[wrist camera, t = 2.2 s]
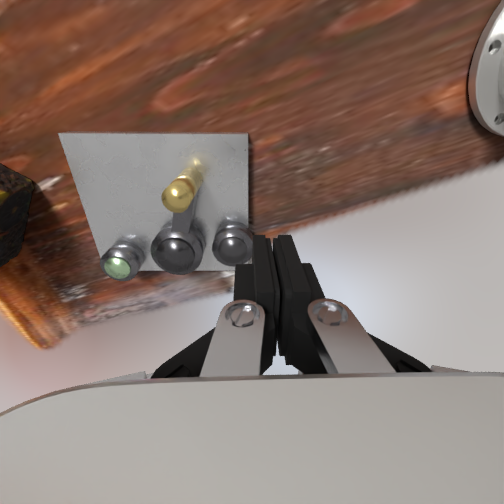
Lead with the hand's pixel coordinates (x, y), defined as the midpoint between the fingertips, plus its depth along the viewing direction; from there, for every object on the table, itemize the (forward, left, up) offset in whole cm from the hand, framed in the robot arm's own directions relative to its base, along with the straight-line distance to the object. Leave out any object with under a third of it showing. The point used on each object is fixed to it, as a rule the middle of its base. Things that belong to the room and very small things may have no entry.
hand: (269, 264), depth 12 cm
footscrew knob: (+7, +4, -14) cm, 16 cm away
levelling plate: (+9, +3, -16) cm, 18 cm away
